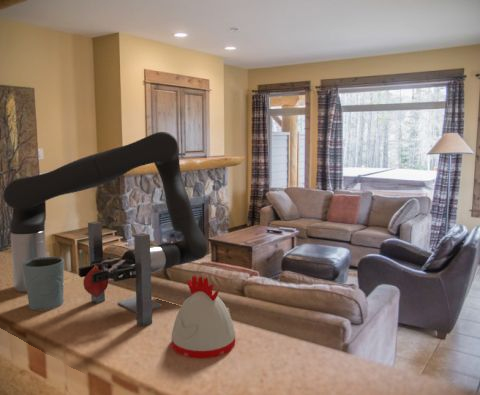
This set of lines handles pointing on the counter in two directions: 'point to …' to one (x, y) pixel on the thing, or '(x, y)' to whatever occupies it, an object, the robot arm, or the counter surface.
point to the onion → (91, 287)
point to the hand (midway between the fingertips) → (86, 275)
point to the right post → (143, 279)
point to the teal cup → (44, 282)
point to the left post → (95, 250)
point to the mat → (132, 304)
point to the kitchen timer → (203, 323)
